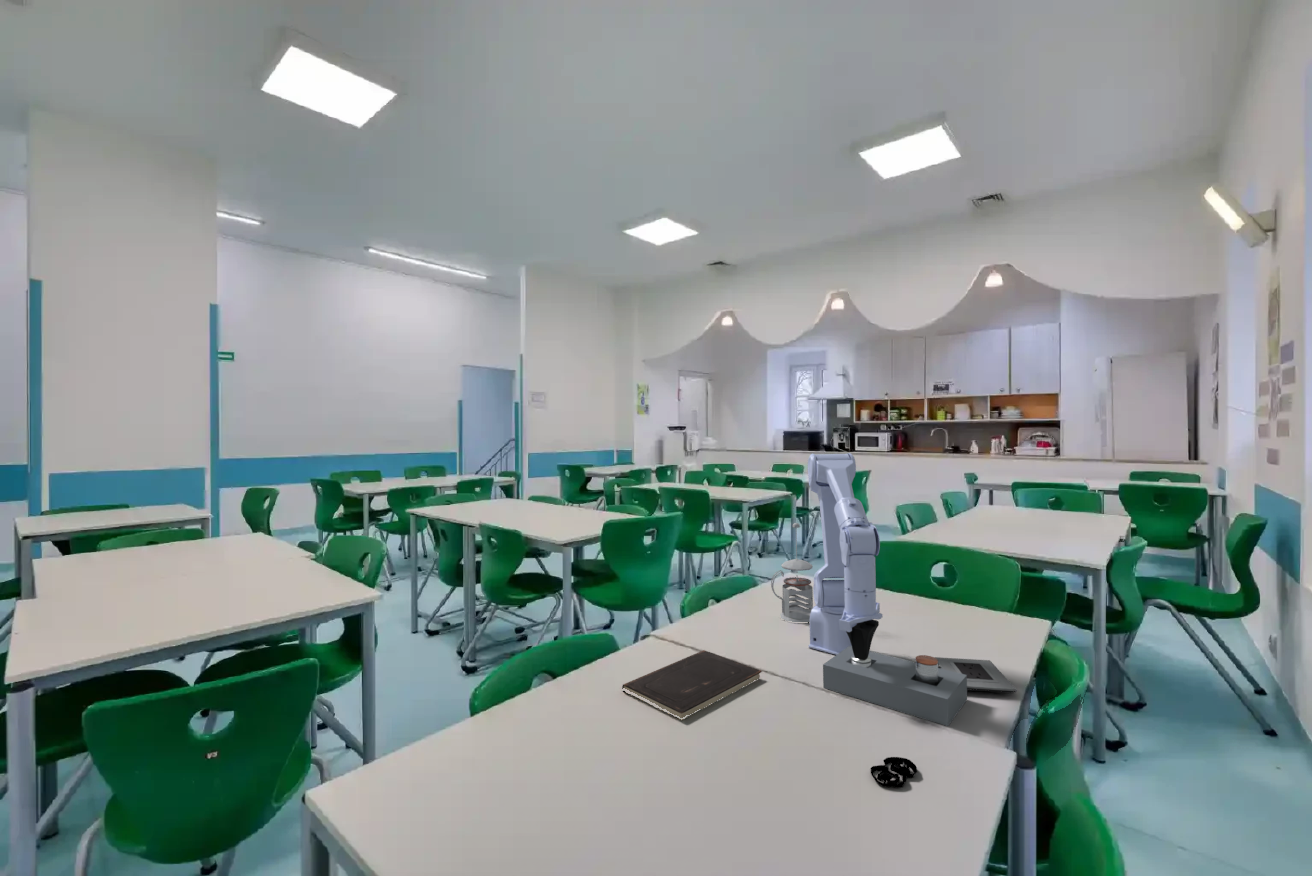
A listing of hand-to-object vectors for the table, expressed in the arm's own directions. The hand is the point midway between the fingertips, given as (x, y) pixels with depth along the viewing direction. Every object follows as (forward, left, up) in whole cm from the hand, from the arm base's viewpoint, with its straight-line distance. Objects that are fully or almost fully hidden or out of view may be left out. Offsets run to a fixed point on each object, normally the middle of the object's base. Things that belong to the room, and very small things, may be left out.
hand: (861, 658), depth 110 cm
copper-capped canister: (+12, 0, -2) cm, 12 cm away
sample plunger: (0, 0, -5) cm, 5 cm away
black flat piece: (+15, -25, -6) cm, 30 cm away
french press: (-29, +27, -5) cm, 40 cm away
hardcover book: (-25, -21, -6) cm, 33 cm away
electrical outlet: (+16, +15, -6) cm, 23 cm away
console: (+6, 0, -5) cm, 8 cm away
